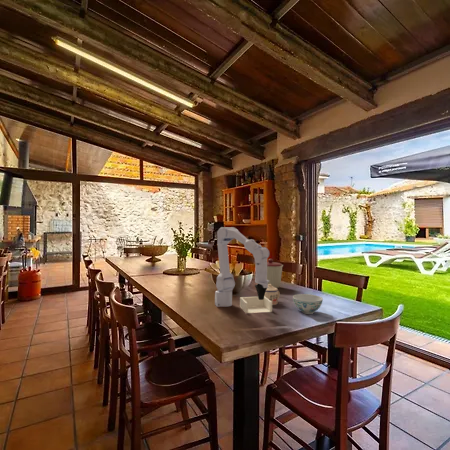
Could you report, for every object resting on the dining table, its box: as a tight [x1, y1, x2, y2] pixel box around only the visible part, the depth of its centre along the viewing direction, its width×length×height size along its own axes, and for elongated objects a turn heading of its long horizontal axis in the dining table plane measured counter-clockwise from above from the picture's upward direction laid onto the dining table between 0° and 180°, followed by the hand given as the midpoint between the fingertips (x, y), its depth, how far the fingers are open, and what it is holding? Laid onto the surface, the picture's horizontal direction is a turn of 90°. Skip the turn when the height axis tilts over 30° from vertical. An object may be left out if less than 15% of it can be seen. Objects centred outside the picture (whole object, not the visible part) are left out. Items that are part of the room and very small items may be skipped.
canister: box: [267, 258, 284, 289], centre depth 210 cm, size 18×18×21 cm
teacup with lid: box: [264, 284, 281, 306], centre depth 165 cm, size 12×9×12 cm
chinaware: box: [292, 293, 324, 315], centre depth 150 cm, size 15×15×8 cm
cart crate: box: [239, 296, 273, 314], centre depth 151 cm, size 14×12×6 cm
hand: (261, 299), depth 142 cm, fingers closed
